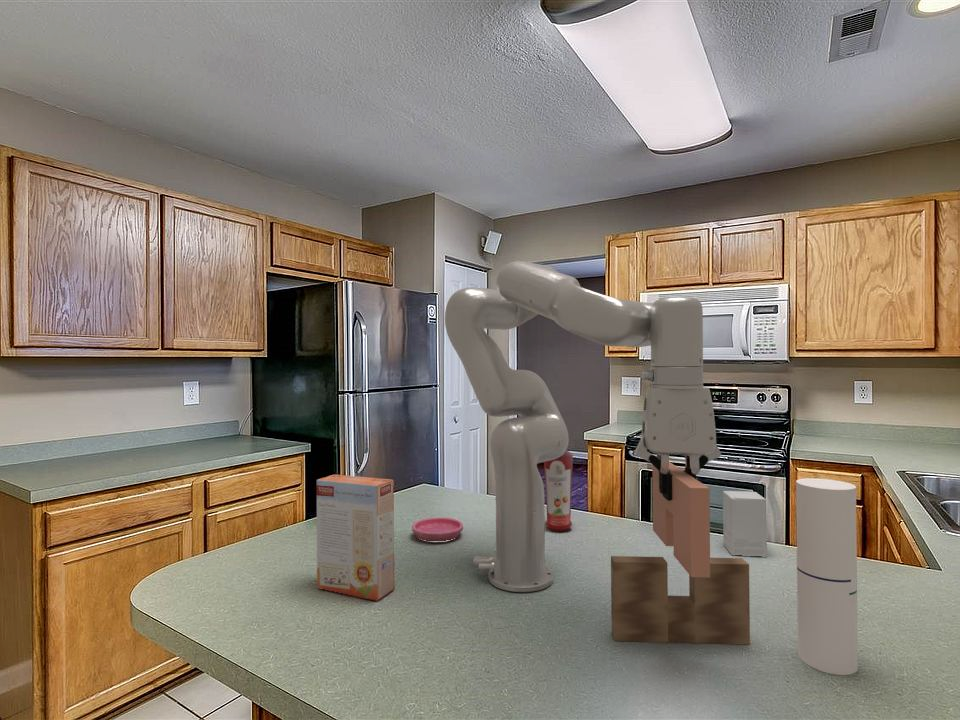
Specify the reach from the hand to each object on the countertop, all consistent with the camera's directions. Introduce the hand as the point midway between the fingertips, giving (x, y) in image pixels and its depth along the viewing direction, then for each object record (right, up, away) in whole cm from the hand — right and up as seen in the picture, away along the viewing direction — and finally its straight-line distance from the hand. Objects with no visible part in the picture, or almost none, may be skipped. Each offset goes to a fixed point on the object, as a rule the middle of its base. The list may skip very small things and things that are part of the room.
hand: (677, 497), depth 82 cm
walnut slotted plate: (0, -22, 0) cm, 22 cm away
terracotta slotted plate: (0, -8, 0) cm, 8 cm away
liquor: (-10, -22, +54) cm, 59 cm away
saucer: (-41, -23, +49) cm, 67 cm away
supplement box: (+29, -22, +37) cm, 52 cm away
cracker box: (-54, -22, +19) cm, 61 cm away
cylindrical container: (+19, -22, -6) cm, 29 cm away
